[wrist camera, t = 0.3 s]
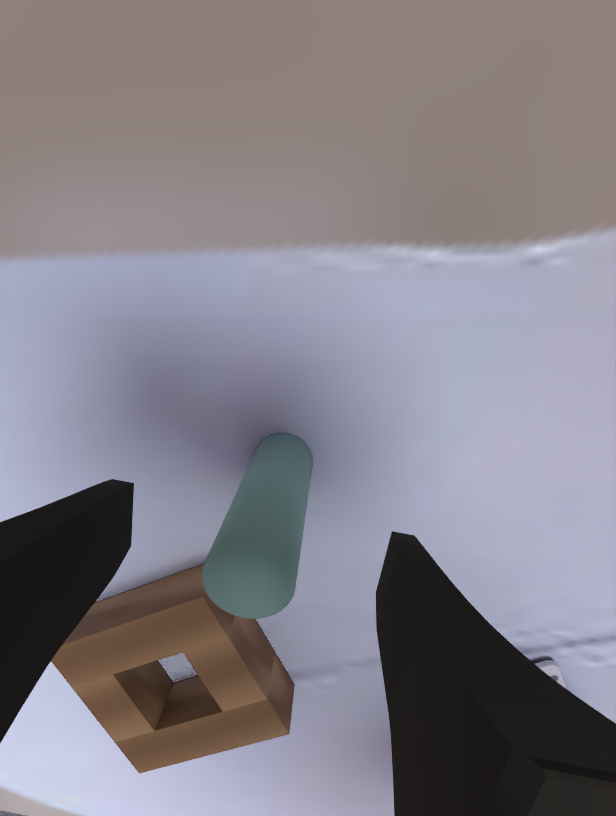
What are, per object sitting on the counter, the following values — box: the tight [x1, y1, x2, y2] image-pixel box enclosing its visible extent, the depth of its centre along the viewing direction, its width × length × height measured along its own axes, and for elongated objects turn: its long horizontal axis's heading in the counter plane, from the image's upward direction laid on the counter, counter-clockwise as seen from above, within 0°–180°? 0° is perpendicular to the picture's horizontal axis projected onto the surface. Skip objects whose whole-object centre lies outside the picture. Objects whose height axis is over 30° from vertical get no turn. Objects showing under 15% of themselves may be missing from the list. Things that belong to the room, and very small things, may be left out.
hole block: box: [51, 564, 294, 773], centre depth 25 cm, size 10×10×3 cm
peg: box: [202, 433, 313, 619], centre depth 18 cm, size 3×3×9 cm
